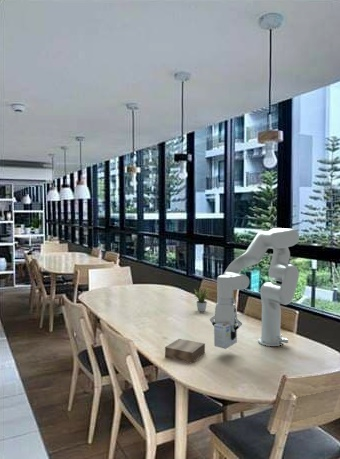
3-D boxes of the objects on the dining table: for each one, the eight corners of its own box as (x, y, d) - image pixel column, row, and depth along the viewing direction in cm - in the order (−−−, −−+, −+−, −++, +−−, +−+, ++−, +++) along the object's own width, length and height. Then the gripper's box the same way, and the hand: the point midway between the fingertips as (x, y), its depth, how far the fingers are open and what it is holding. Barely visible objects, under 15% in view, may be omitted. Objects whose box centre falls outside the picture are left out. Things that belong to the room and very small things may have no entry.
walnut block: (204, 353, 185) (204, 343, 185) (192, 363, 173) (192, 352, 173) (178, 348, 192) (178, 338, 191) (165, 357, 179) (165, 347, 179)
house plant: (213, 308, 269) (214, 285, 268) (214, 313, 255) (214, 289, 255) (193, 307, 270) (193, 284, 270) (192, 313, 257) (192, 288, 256)
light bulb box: (225, 339, 190) (225, 318, 190) (237, 342, 186) (237, 320, 185) (213, 346, 182) (213, 323, 181) (226, 349, 178) (225, 326, 177)
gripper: (245, 301, 181) (245, 338, 182) (212, 297, 190) (212, 332, 192) (239, 305, 175) (239, 343, 176) (205, 300, 184) (205, 337, 185)
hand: (225, 337), depth 184 cm, fingers closed on light bulb box, 7 cm apart
